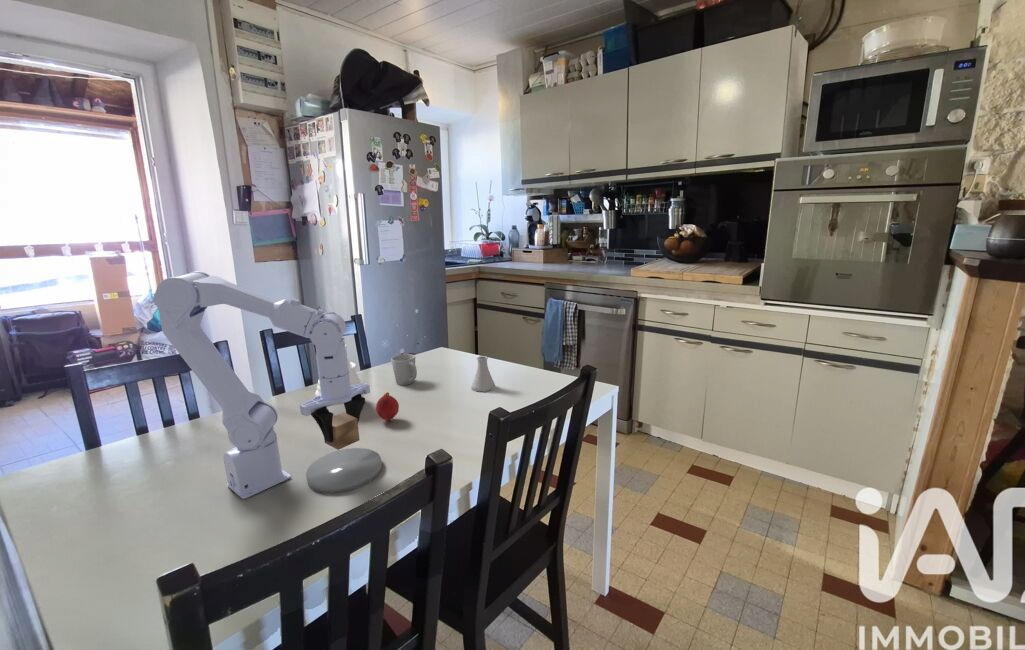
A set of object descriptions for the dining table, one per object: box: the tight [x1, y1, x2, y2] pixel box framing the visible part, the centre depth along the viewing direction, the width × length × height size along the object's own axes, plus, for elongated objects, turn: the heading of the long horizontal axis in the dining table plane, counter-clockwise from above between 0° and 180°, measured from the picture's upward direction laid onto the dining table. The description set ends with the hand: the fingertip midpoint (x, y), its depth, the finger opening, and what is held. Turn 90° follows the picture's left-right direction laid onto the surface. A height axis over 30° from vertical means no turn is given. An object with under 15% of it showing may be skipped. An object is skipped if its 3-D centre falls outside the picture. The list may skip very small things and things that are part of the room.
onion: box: [375, 391, 400, 422], centre depth 121 cm, size 6×6×8 cm
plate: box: [305, 447, 383, 494], centre depth 98 cm, size 15×15×2 cm
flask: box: [470, 355, 496, 393], centre depth 142 cm, size 7×7×10 cm
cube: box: [323, 412, 360, 451], centre depth 96 cm, size 5×5×5 cm
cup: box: [390, 353, 418, 386], centre depth 147 cm, size 8×10×8 cm
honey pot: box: [314, 343, 366, 416], centre depth 129 cm, size 13×13×18 cm
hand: (341, 435), depth 96 cm, fingers closed on cube, 5 cm apart
